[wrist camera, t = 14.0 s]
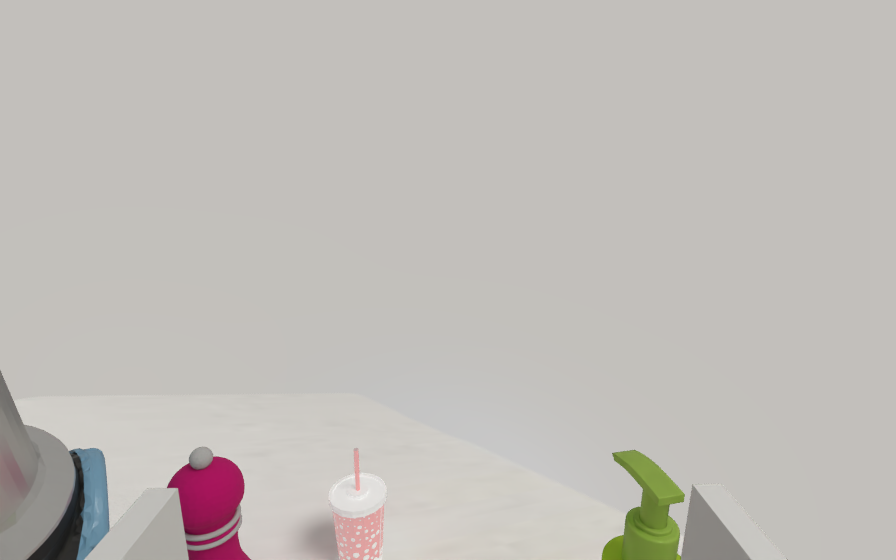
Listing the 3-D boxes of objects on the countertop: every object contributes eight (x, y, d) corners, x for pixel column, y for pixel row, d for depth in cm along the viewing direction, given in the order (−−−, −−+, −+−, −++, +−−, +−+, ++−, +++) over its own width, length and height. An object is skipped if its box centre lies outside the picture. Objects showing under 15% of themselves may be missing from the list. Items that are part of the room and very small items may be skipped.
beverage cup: (353, 532, 57) (348, 428, 53) (398, 548, 54) (396, 440, 51) (321, 572, 51) (313, 458, 48) (370, 592, 49) (365, 474, 45)
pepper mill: (245, 590, 49) (224, 416, 44) (282, 635, 44) (263, 446, 39) (169, 641, 44) (135, 450, 39) (201, 699, 39) (168, 490, 34)
